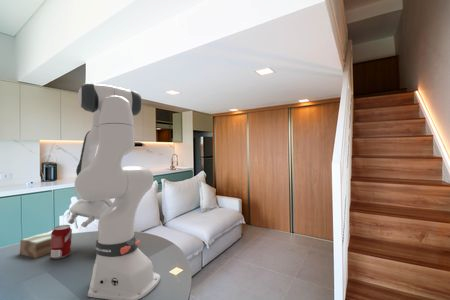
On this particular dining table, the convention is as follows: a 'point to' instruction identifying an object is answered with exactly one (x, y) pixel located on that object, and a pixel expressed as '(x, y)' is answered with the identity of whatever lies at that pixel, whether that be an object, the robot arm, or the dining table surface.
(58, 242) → the soda can
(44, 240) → the walnut pedestal
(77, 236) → the dining table surface
